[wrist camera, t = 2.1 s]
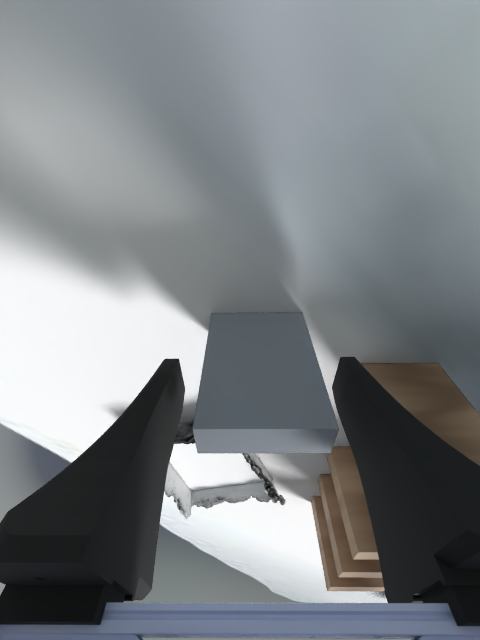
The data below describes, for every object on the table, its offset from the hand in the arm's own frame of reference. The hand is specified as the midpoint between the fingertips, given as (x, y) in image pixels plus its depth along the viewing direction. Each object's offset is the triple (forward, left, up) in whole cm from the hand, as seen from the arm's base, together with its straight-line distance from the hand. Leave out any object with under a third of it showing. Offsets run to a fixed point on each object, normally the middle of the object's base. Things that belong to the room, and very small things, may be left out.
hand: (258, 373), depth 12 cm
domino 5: (-9, +4, -4) cm, 11 cm away
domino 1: (0, 0, -4) cm, 4 cm away
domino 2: (-9, +14, -4) cm, 17 cm away
